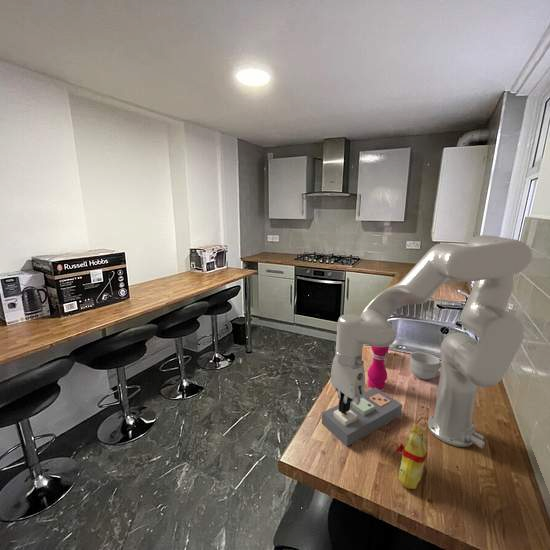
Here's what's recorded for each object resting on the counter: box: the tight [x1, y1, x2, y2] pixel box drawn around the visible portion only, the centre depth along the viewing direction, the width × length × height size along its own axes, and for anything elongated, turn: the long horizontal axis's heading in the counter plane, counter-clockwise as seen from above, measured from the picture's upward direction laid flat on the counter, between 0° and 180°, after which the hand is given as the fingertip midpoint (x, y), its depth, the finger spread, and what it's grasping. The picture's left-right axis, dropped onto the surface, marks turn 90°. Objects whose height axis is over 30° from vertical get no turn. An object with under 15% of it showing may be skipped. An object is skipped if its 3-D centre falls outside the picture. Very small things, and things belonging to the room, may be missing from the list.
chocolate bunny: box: [394, 424, 428, 490], centre depth 74 cm, size 7×11×15 cm, turn 140°
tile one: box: [333, 409, 357, 427], centre depth 90 cm, size 5×5×4 cm
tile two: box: [352, 398, 375, 417], centre depth 94 cm, size 5×5×4 cm
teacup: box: [409, 351, 441, 380], centre depth 118 cm, size 14×11×8 cm
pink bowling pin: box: [367, 345, 389, 391], centre depth 111 cm, size 7×7×20 cm
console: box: [321, 387, 403, 448], centre depth 95 cm, size 11×25×4 cm, turn 122°
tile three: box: [369, 393, 391, 407], centre depth 99 cm, size 5×5×4 cm
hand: (344, 410), depth 90 cm, fingers closed
